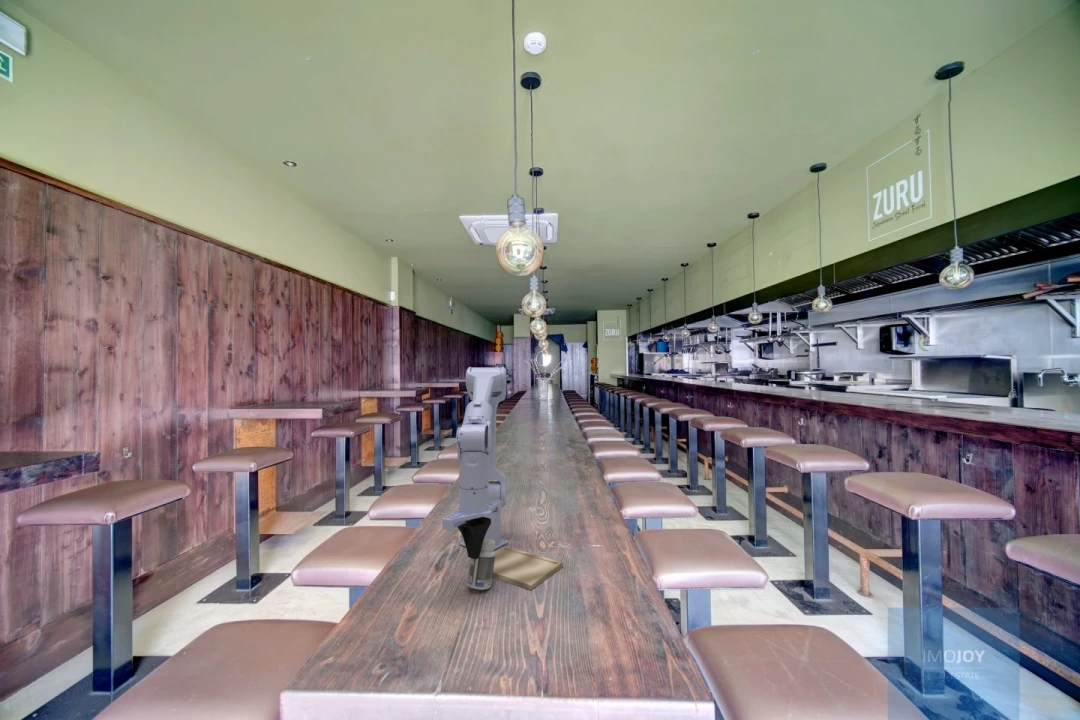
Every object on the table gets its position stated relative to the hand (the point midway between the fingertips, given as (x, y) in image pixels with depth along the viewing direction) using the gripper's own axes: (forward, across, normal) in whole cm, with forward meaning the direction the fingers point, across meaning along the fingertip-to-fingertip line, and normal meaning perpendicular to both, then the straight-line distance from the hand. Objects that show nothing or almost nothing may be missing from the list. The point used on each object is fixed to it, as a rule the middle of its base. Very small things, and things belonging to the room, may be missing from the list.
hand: (473, 557), depth 79 cm
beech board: (+6, +12, -1) cm, 14 cm away
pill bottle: (+6, +2, 0) cm, 6 cm away
